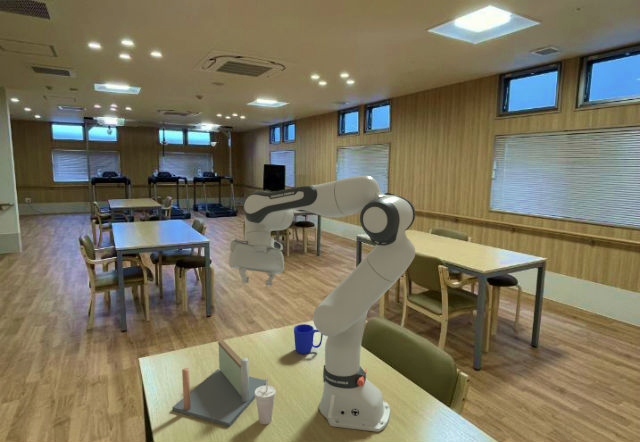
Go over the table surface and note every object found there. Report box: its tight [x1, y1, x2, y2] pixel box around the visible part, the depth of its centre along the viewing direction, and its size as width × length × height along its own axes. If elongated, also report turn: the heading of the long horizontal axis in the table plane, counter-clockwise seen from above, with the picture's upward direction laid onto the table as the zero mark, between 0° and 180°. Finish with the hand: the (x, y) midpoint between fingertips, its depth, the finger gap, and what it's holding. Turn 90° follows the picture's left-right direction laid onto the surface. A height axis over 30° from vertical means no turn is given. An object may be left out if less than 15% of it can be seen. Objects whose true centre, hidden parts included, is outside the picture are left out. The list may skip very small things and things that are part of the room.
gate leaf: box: [217, 339, 242, 396], centre depth 133 cm, size 20×2×11 cm, turn 35°
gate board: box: [172, 357, 266, 428], centre depth 127 cm, size 21×24×15 cm
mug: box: [293, 323, 324, 355], centre depth 159 cm, size 8×12×10 cm
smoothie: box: [254, 377, 277, 425], centre depth 116 cm, size 6×6×14 cm
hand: (257, 284), depth 124 cm, fingers open, 8 cm apart
